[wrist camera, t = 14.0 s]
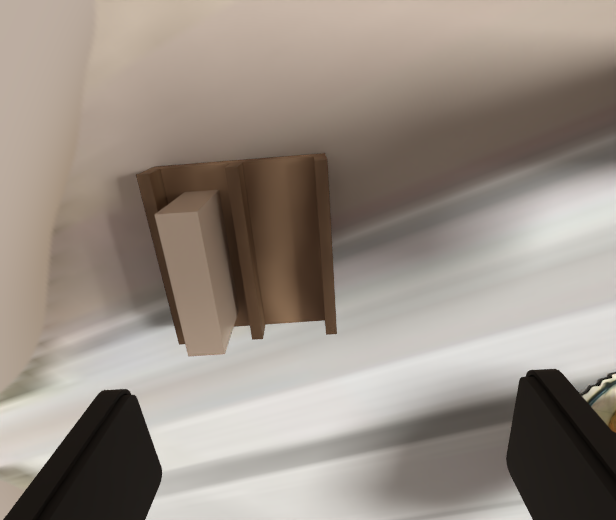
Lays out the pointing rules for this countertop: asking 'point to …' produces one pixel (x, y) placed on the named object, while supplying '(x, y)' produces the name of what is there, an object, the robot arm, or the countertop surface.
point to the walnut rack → (261, 234)
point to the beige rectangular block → (199, 270)
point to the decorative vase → (604, 401)
